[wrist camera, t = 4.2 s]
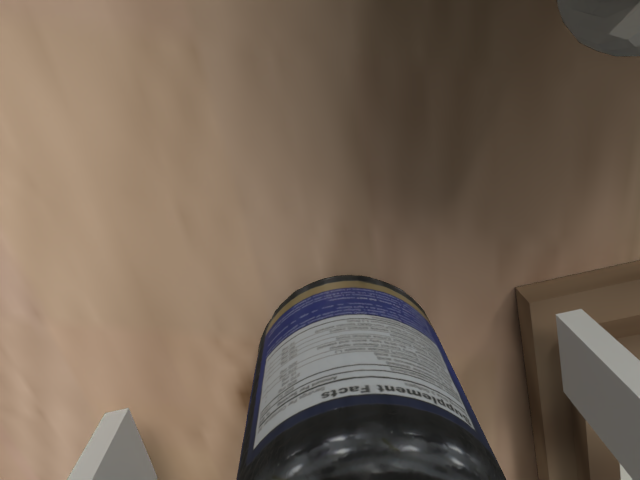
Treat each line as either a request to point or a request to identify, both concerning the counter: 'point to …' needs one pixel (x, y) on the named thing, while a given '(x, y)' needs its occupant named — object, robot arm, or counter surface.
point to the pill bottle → (358, 393)
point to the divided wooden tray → (545, 368)
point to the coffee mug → (604, 24)
